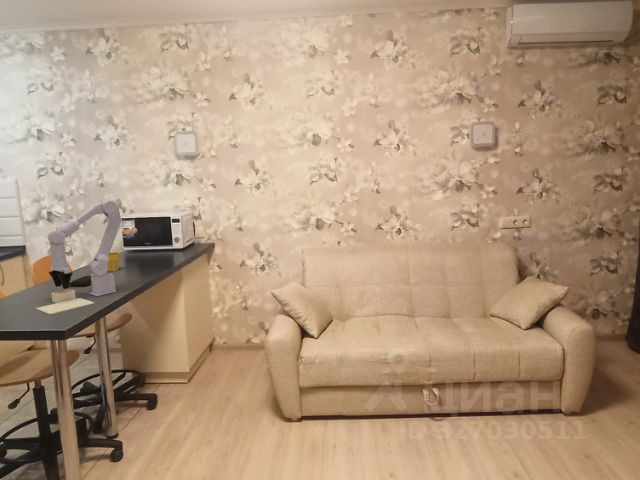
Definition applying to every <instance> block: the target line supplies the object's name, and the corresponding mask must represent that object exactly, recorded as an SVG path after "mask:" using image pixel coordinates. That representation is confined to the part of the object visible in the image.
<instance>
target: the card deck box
mask: <svg viewBox="0 0 640 480" xmlns="http://www.w3.org/2000/svg"><path fill="white" fill-rule="evenodd" d="M72 299H77V298H76V290H74V289H70V288H68V289H63V290H60V291H55V292H51V301H52V302H53V303H54V304H56V303H60V302H64V301H68V300H72Z"/></svg>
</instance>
